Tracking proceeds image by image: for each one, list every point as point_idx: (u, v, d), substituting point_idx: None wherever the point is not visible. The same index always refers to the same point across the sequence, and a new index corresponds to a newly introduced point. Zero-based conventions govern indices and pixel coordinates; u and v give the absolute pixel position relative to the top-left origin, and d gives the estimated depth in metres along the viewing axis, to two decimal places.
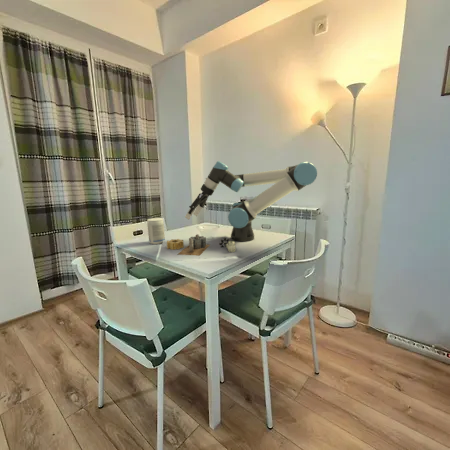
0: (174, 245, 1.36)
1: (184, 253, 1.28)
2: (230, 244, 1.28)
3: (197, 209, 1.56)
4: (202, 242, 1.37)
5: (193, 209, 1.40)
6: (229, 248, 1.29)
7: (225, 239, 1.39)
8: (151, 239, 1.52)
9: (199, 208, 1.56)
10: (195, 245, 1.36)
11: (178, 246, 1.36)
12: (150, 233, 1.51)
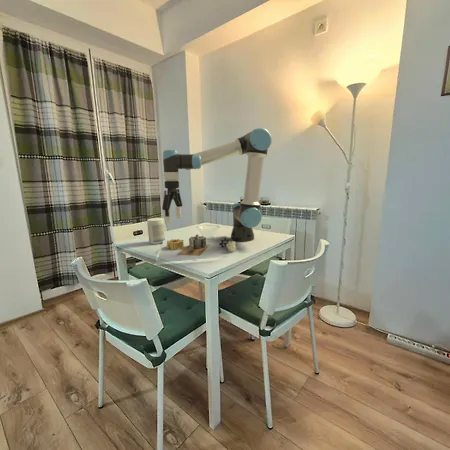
0: (174, 245, 1.36)
1: (184, 253, 1.28)
2: (230, 244, 1.28)
3: (177, 211, 1.42)
4: (202, 242, 1.37)
5: (167, 209, 1.26)
6: (229, 248, 1.29)
7: (225, 239, 1.38)
8: (151, 239, 1.52)
9: (178, 208, 1.42)
10: (195, 245, 1.36)
11: (178, 246, 1.36)
12: (150, 233, 1.51)
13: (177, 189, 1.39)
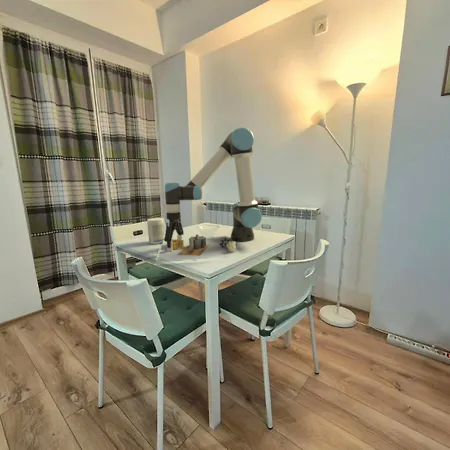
0: (174, 245, 1.36)
1: (184, 253, 1.28)
2: (230, 244, 1.28)
3: None
4: (202, 242, 1.37)
5: (169, 241, 1.29)
6: (229, 248, 1.28)
7: (225, 239, 1.38)
8: (151, 239, 1.52)
9: (179, 237, 1.45)
10: (195, 245, 1.36)
11: (178, 246, 1.36)
12: (150, 233, 1.51)
13: (178, 219, 1.42)
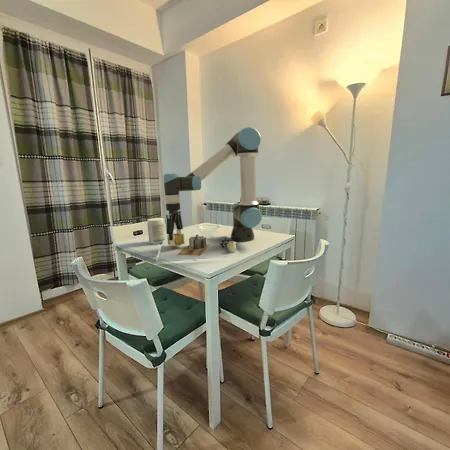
0: (175, 239, 1.35)
1: (184, 253, 1.28)
2: (231, 244, 1.28)
3: None
4: (202, 242, 1.37)
5: (171, 233, 1.31)
6: (230, 248, 1.28)
7: (226, 239, 1.38)
8: (151, 239, 1.52)
9: (179, 231, 1.43)
10: (195, 245, 1.36)
11: (179, 240, 1.35)
12: (150, 233, 1.51)
13: (178, 211, 1.42)
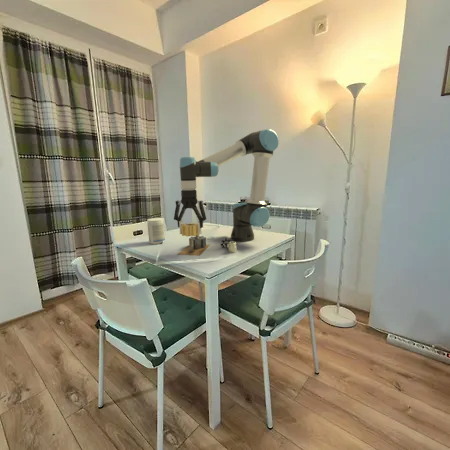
0: None
1: (184, 253, 1.28)
2: (231, 245, 1.27)
3: None
4: (202, 242, 1.37)
5: (175, 219, 1.28)
6: (230, 249, 1.28)
7: (226, 240, 1.37)
8: (151, 239, 1.52)
9: None
10: (195, 245, 1.36)
11: (182, 229, 1.26)
12: (150, 233, 1.51)
13: (200, 201, 1.24)
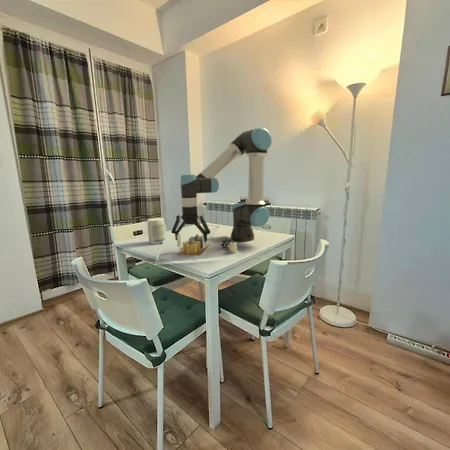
0: None
1: None
2: (231, 245, 1.27)
3: None
4: None
5: (172, 232, 1.29)
6: (230, 249, 1.27)
7: (227, 240, 1.37)
8: (151, 239, 1.52)
9: None
10: None
11: (183, 247, 1.28)
12: (150, 233, 1.51)
13: (200, 216, 1.25)
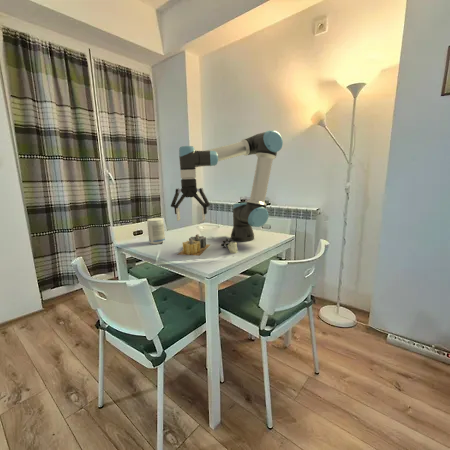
0: None
1: None
2: (232, 245, 1.26)
3: None
4: (202, 242, 1.37)
5: (172, 206, 1.29)
6: (231, 249, 1.27)
7: (227, 240, 1.37)
8: (151, 239, 1.52)
9: None
10: None
11: (183, 247, 1.28)
12: (150, 233, 1.51)
13: None
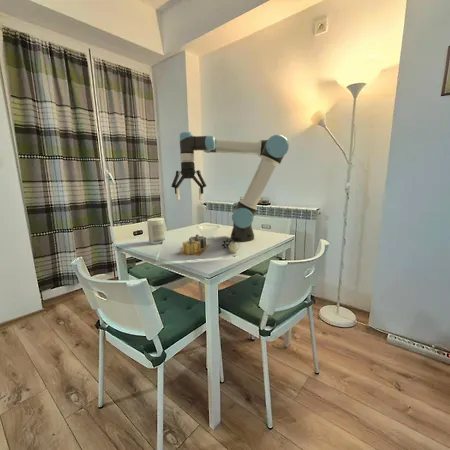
0: None
1: None
2: (232, 245, 1.26)
3: None
4: (202, 242, 1.37)
5: (172, 186, 1.45)
6: (231, 249, 1.26)
7: (227, 240, 1.36)
8: (151, 239, 1.52)
9: None
10: None
11: (183, 247, 1.28)
12: (150, 233, 1.51)
13: None
